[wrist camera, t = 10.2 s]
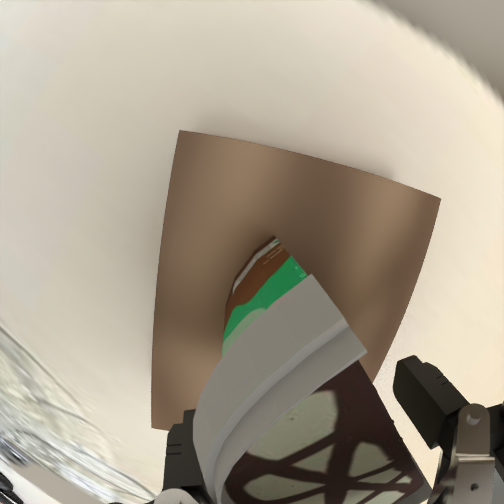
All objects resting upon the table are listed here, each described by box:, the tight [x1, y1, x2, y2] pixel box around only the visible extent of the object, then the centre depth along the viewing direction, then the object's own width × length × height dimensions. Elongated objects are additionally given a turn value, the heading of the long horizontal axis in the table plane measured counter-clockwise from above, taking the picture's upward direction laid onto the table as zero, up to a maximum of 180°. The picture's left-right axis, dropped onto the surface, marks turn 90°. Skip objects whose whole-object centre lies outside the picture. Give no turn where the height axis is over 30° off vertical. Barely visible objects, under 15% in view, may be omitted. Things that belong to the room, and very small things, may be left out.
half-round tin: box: [193, 235, 432, 504], centre depth 11 cm, size 12×6×10 cm, turn 33°
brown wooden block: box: [151, 130, 441, 431], centre depth 19 cm, size 14×18×6 cm
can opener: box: [0, 474, 24, 504], centre depth 27 cm, size 18×7×6 cm, turn 170°
